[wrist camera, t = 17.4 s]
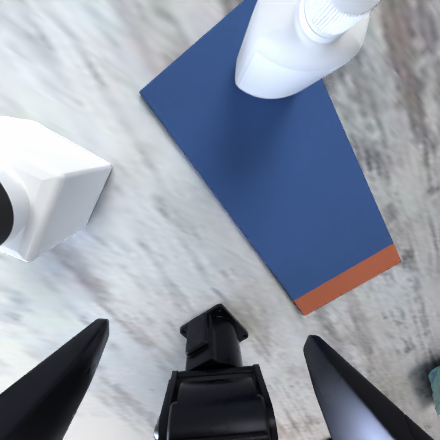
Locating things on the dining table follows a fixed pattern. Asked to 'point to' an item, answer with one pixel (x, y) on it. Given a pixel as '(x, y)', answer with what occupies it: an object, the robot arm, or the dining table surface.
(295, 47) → the eye dropper bottle
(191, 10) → the dining table surface
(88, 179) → the medicine bottle
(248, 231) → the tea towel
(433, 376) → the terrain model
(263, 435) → the robot arm
